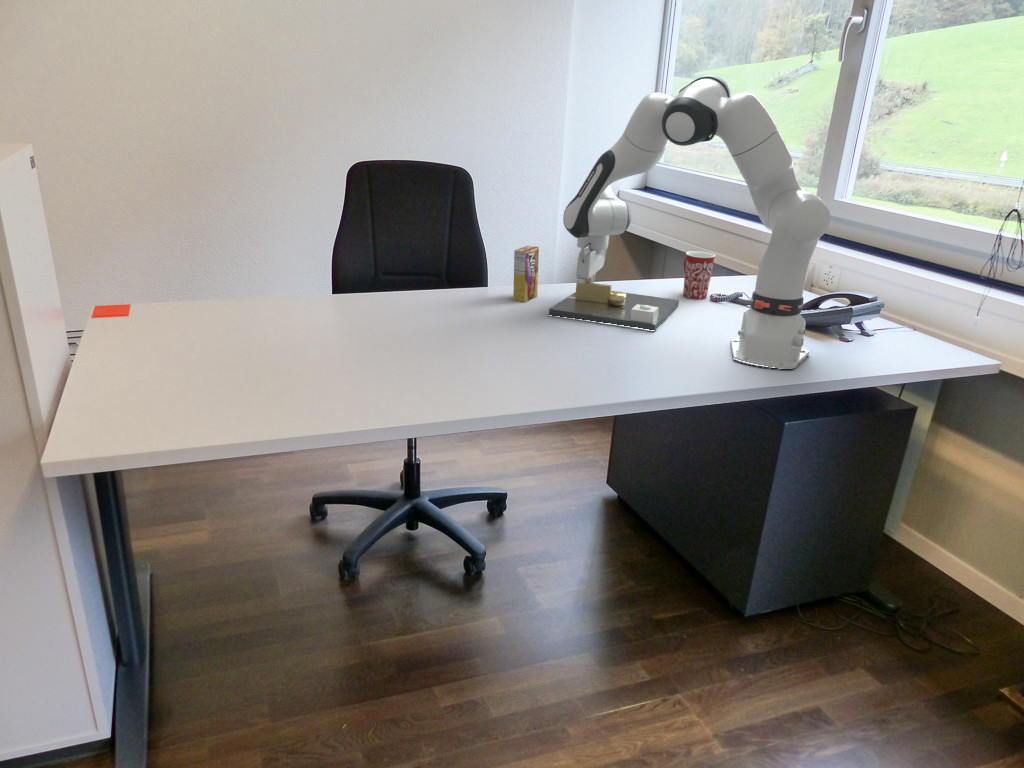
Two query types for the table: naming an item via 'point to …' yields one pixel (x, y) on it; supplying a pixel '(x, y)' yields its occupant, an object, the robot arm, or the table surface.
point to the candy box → (526, 273)
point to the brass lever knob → (599, 293)
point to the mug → (697, 274)
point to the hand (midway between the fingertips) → (589, 288)
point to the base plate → (619, 310)
